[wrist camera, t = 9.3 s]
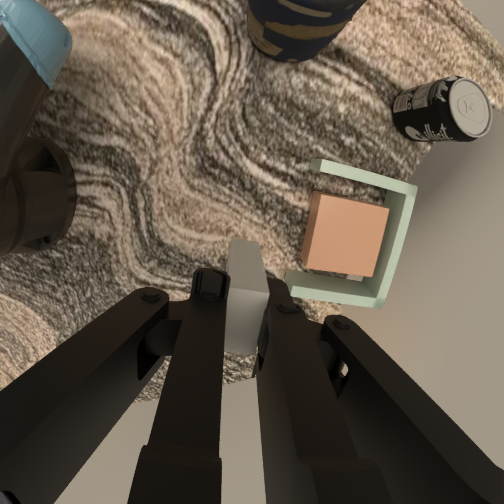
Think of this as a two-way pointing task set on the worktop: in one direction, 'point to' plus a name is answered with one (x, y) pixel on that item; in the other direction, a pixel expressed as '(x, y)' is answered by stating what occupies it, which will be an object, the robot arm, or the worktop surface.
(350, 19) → the canister
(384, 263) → the green u-shaped bracket
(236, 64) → the worktop surface
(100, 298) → the worktop surface
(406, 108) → the beverage can
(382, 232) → the orange block
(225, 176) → the worktop surface
